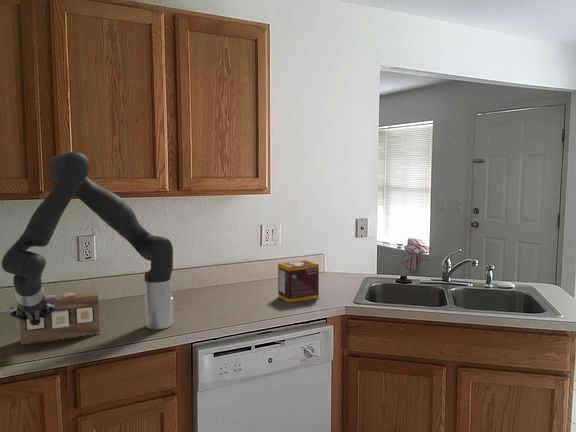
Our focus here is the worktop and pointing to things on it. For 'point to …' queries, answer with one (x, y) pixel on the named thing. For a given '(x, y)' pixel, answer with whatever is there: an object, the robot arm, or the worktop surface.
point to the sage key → (60, 318)
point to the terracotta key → (84, 314)
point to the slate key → (31, 326)
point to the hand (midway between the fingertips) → (35, 322)
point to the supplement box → (298, 280)
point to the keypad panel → (74, 328)
